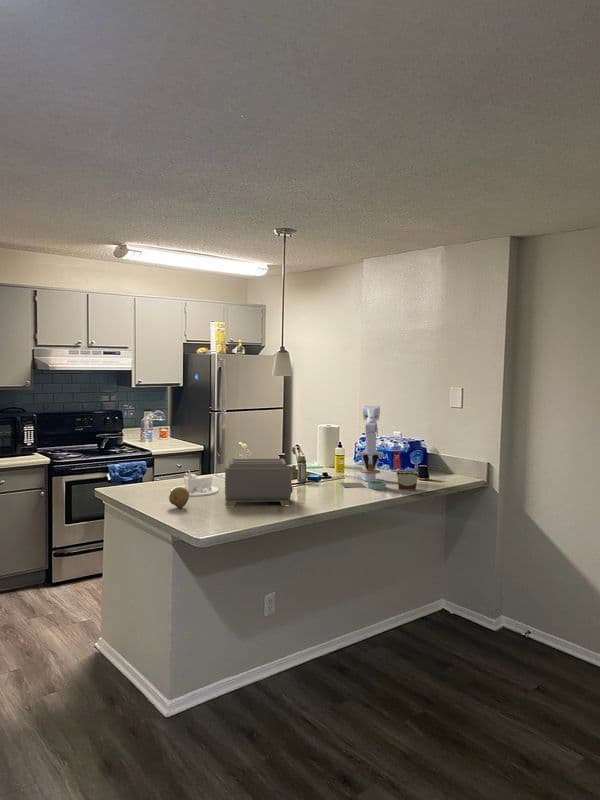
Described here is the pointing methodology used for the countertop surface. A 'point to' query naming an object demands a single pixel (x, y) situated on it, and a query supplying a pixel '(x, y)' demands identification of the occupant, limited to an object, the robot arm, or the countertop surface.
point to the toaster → (257, 481)
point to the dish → (198, 485)
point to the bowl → (377, 484)
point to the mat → (352, 484)
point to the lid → (370, 470)
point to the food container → (407, 479)
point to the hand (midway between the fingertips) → (370, 468)
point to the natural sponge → (179, 497)
